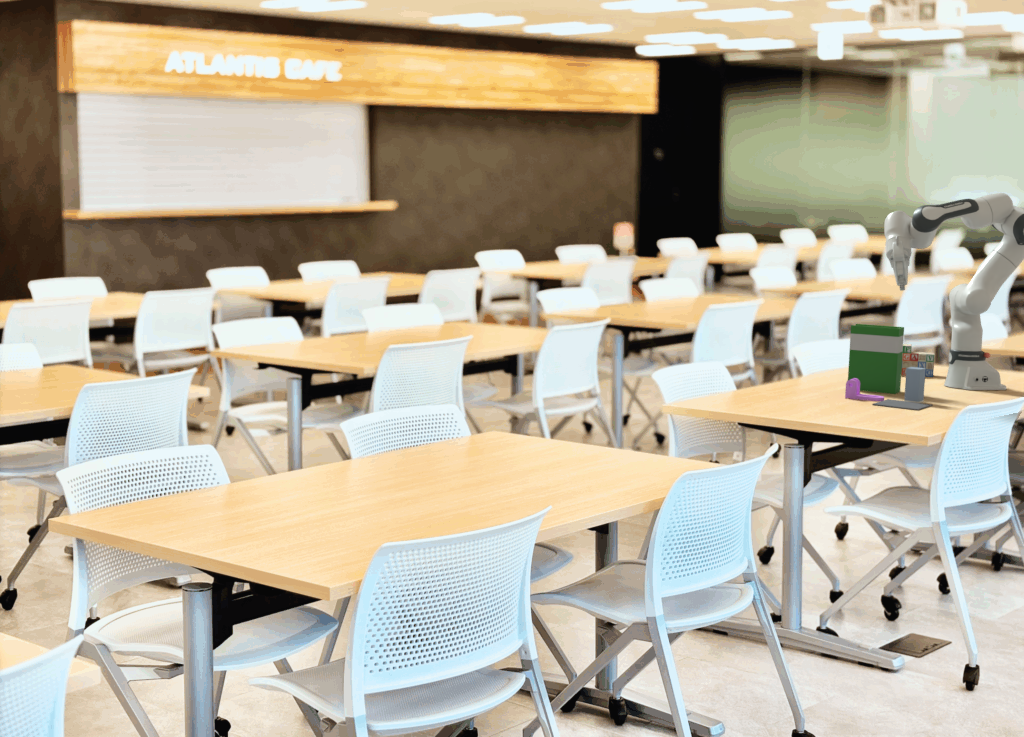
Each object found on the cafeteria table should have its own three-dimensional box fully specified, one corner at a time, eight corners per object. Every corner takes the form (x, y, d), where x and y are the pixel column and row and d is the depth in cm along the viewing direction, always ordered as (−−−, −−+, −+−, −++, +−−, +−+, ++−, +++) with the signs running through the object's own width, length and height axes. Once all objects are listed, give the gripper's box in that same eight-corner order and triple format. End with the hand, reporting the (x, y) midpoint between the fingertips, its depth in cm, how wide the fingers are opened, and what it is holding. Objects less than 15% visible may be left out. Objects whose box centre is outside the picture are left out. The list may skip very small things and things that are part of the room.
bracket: (845, 398, 471) (846, 379, 470) (849, 396, 476) (850, 377, 475) (881, 402, 465) (883, 382, 464) (885, 400, 469) (886, 380, 469)
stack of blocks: (933, 375, 537) (935, 345, 535) (933, 377, 531) (935, 347, 529) (878, 372, 543) (880, 342, 541) (878, 374, 537) (879, 344, 536)
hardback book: (847, 389, 492) (851, 325, 489) (852, 387, 498) (856, 323, 495) (895, 394, 483) (899, 328, 480) (900, 391, 490) (904, 327, 486)
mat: (888, 400, 468) (888, 399, 468) (932, 405, 458) (932, 404, 458) (872, 404, 457) (872, 403, 457) (917, 410, 447) (917, 409, 447)
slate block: (909, 400, 469) (911, 366, 468) (923, 401, 466) (925, 368, 465) (904, 401, 465) (906, 368, 464) (918, 403, 462) (920, 369, 461)
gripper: (905, 233, 471) (908, 265, 464) (909, 264, 487) (912, 296, 480) (887, 235, 472) (890, 267, 466) (891, 267, 489) (894, 298, 482)
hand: (901, 282), depth 473 cm, fingers open, 8 cm apart
